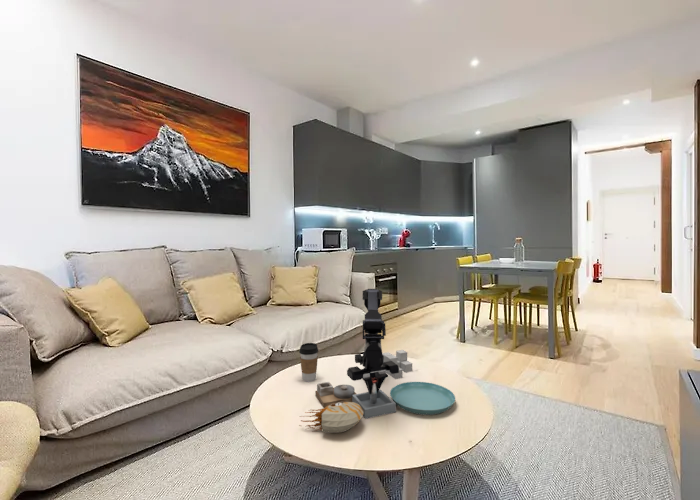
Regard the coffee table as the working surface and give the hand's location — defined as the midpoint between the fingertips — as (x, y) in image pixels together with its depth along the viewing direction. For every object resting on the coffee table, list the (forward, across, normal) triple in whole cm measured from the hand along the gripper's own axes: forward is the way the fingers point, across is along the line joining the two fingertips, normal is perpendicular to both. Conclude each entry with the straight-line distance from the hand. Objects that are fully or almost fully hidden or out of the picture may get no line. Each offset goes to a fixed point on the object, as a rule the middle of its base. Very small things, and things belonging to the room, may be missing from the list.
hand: (373, 393), depth 132 cm
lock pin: (+4, 0, 0) cm, 4 cm away
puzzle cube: (+6, -26, -26) cm, 37 cm away
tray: (+6, 0, 0) cm, 6 cm away
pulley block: (+6, +10, -12) cm, 17 cm away
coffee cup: (+6, +15, -34) cm, 38 cm away
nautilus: (+6, +18, +6) cm, 20 cm away
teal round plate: (+6, -19, +3) cm, 20 cm away
